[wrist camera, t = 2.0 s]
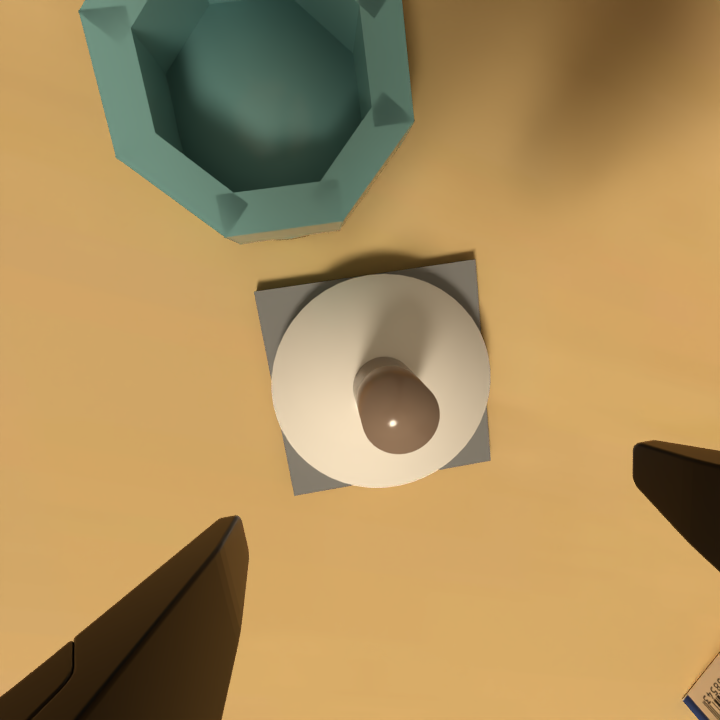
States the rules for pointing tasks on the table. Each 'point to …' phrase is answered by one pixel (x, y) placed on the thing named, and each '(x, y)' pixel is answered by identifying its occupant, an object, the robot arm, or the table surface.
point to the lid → (380, 380)
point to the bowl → (254, 104)
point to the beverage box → (706, 693)
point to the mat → (289, 301)
